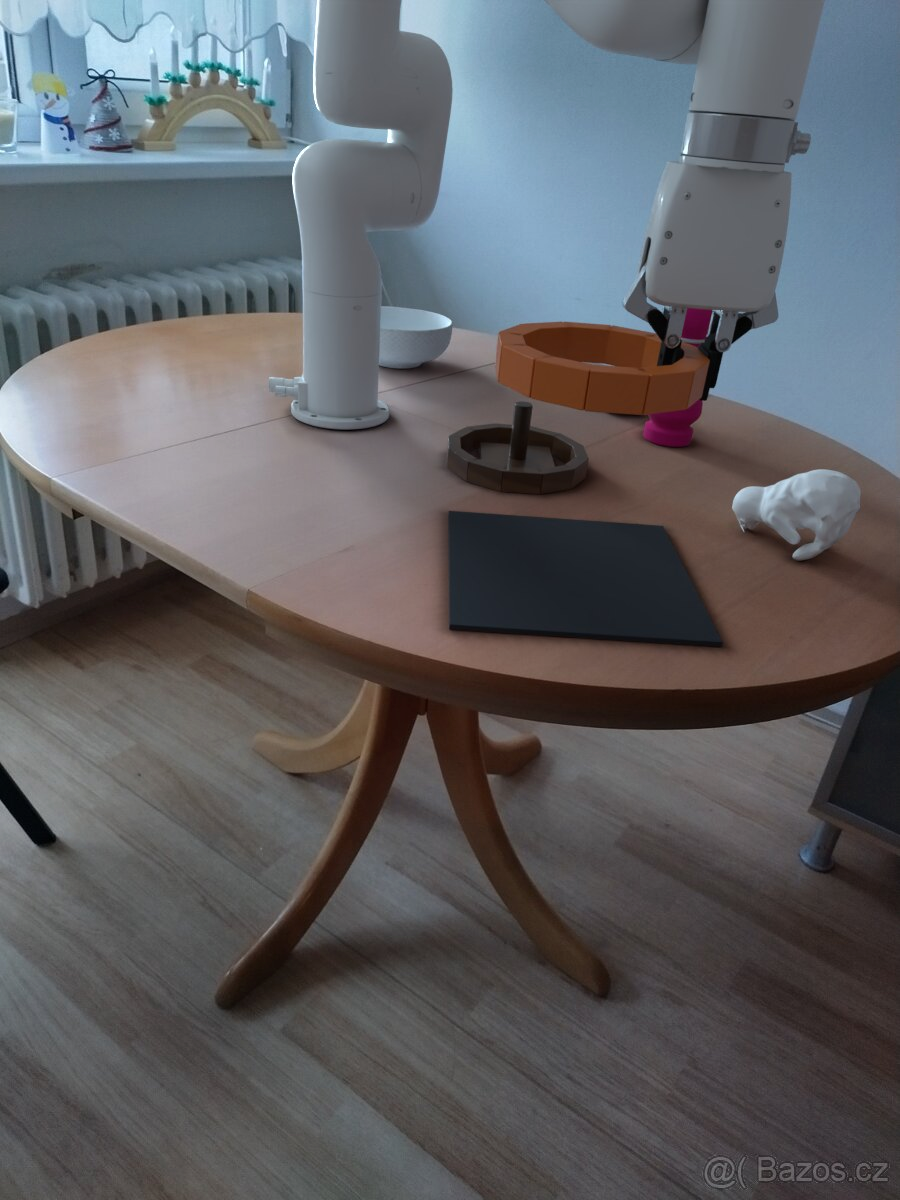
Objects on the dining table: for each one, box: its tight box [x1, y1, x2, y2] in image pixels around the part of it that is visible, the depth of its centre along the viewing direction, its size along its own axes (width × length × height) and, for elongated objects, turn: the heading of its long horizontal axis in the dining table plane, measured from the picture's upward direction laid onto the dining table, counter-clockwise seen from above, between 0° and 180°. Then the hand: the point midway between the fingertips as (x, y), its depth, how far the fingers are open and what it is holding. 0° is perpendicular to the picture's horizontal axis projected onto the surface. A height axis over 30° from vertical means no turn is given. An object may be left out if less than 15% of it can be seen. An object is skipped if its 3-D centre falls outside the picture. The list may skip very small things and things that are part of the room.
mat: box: [447, 510, 724, 648], centre depth 78 cm, size 22×22×1 cm
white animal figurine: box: [731, 468, 862, 561], centre depth 86 cm, size 6×8×12 cm
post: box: [478, 400, 556, 469], centre depth 99 cm, size 8×8×8 cm
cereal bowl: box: [379, 305, 454, 370], centre depth 135 cm, size 17×17×7 cm
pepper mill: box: [642, 308, 713, 448], centre depth 109 cm, size 7×7×20 cm
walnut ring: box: [446, 422, 589, 495], centre depth 100 cm, size 16×16×2 cm
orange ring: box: [494, 321, 710, 416], centre depth 70 cm, size 17×17×3 cm
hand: (682, 393), depth 72 cm, fingers closed on orange ring, 2 cm apart
